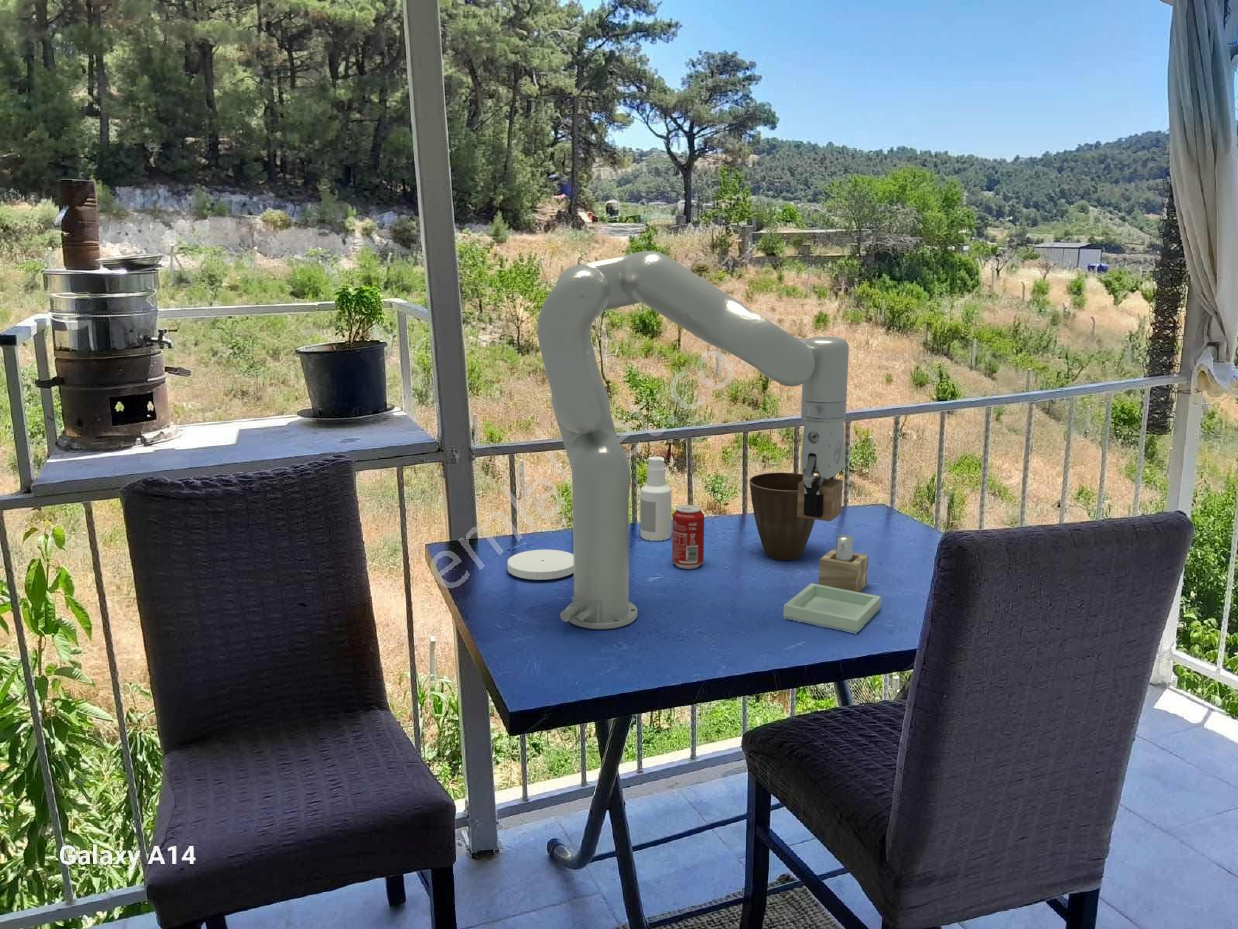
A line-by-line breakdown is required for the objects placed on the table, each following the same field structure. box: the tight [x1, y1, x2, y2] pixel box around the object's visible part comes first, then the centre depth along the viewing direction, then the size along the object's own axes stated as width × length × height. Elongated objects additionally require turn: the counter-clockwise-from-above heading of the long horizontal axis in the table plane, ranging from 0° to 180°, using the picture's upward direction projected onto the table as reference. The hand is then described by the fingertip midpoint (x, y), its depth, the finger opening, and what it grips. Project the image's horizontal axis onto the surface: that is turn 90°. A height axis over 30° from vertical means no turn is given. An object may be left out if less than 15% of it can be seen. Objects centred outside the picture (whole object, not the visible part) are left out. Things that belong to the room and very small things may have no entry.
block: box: [797, 478, 844, 522], centre depth 166 cm, size 6×6×6 cm
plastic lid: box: [506, 549, 574, 581], centre depth 189 cm, size 14×14×2 cm
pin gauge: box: [835, 534, 854, 562], centre depth 178 cm, size 3×3×10 cm
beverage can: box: [671, 504, 705, 570], centre depth 191 cm, size 6×6×12 cm
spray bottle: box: [639, 456, 672, 542], centre depth 209 cm, size 7×7×18 cm
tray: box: [782, 582, 882, 633], centre depth 166 cm, size 13×13×2 cm
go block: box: [818, 548, 869, 593], centre depth 179 cm, size 7×7×6 cm
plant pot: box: [749, 472, 816, 561], centre depth 196 cm, size 15×15×16 cm
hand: (819, 510), depth 166 cm, fingers closed on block, 6 cm apart
